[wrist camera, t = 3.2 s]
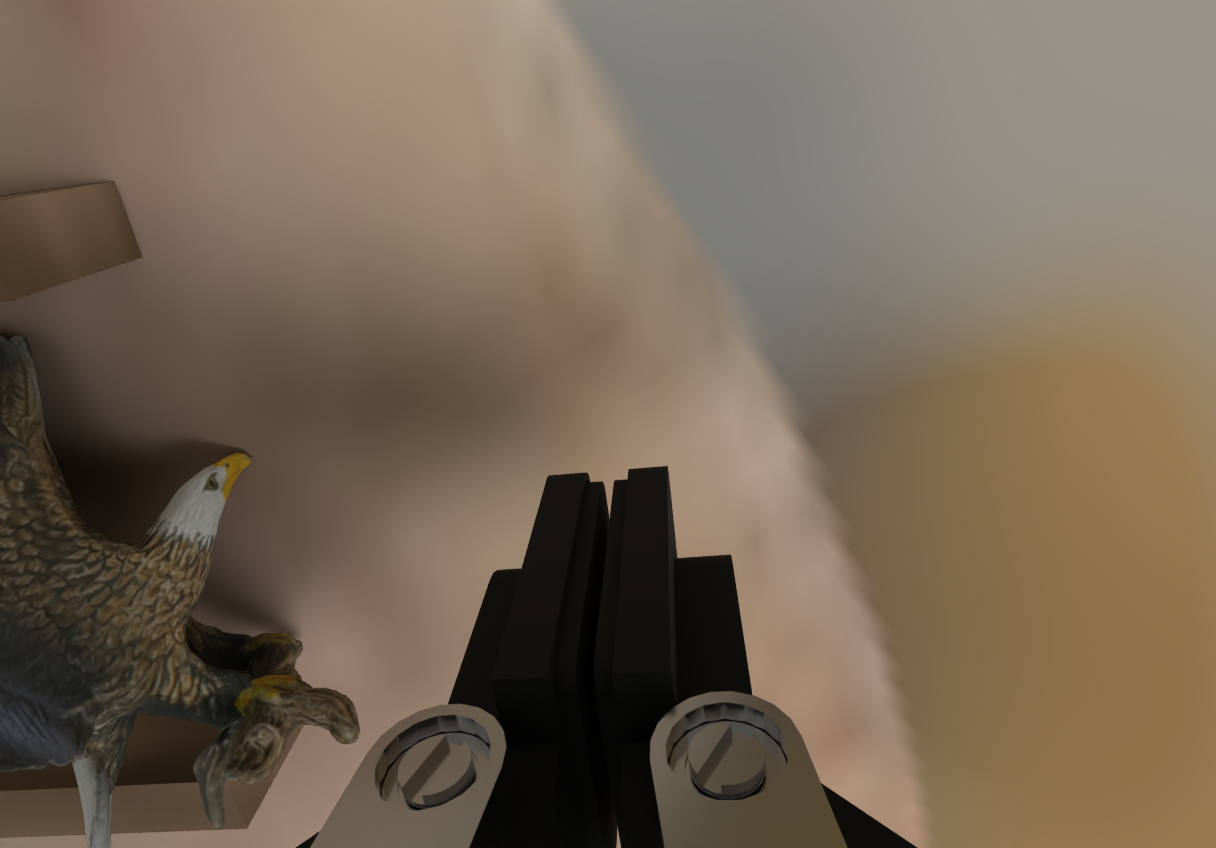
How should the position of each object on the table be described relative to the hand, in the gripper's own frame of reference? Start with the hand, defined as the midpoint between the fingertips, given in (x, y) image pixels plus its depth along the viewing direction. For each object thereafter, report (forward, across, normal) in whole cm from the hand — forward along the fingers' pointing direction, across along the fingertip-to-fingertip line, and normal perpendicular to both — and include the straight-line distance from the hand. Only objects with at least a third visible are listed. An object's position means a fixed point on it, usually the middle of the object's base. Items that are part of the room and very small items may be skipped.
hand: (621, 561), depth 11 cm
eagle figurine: (+4, +10, +1) cm, 10 cm away
